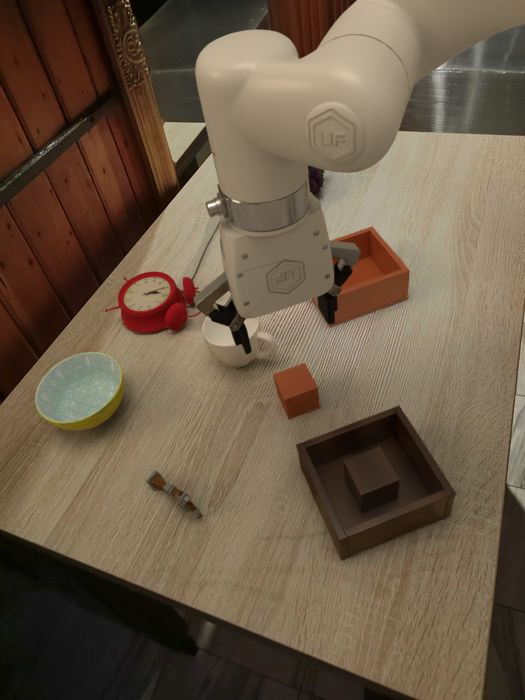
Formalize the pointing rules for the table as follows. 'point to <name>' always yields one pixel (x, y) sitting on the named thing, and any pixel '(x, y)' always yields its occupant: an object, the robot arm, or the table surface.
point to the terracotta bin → (370, 278)
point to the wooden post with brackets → (173, 492)
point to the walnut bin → (407, 461)
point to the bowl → (81, 391)
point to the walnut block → (371, 479)
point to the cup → (224, 344)
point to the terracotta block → (297, 390)
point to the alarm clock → (154, 302)
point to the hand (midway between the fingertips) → (286, 330)
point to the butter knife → (200, 250)
